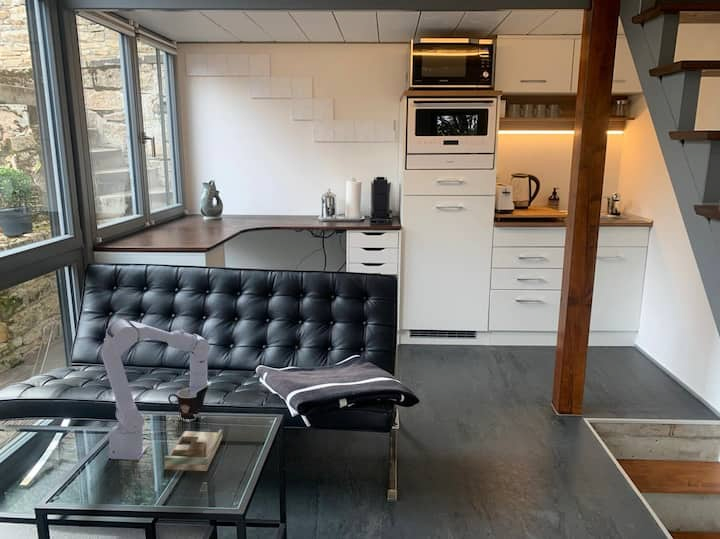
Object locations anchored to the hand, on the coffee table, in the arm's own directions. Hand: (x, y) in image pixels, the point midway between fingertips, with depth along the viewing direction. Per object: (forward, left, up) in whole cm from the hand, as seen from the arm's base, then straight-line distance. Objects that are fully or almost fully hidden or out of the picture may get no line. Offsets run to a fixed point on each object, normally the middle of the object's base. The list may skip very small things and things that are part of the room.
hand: (198, 407), depth 187 cm
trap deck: (+2, -12, -10) cm, 16 cm away
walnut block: (+5, -19, -8) cm, 21 cm away
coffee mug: (-8, +12, -10) cm, 18 cm away
